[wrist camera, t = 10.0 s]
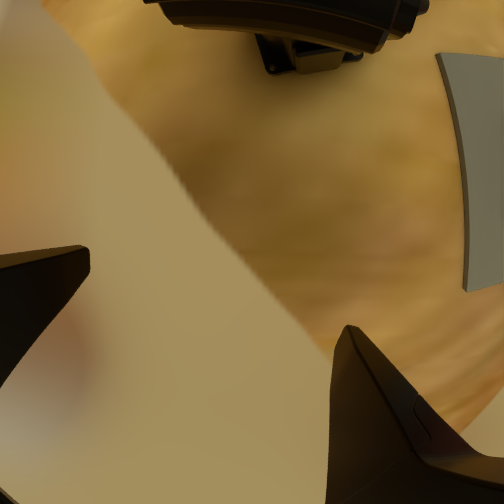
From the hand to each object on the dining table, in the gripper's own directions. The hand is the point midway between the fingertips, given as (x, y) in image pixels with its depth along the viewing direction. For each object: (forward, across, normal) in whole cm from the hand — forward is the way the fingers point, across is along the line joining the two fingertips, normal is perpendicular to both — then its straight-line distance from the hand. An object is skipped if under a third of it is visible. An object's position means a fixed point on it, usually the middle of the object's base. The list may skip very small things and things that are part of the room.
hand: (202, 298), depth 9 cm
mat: (+12, -20, -10) cm, 25 cm away
